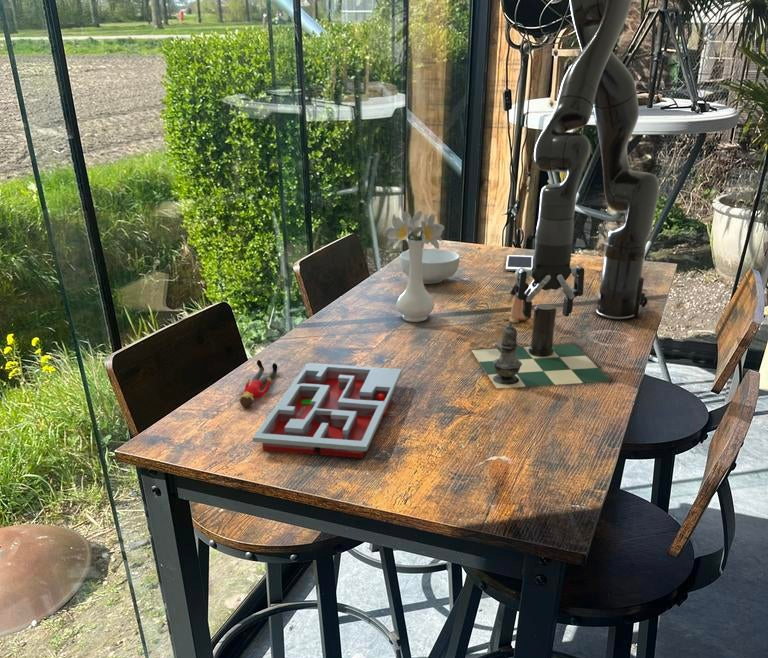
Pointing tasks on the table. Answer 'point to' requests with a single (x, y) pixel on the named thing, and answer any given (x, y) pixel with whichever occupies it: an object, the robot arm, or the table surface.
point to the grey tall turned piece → (507, 358)
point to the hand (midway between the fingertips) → (546, 316)
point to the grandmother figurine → (517, 304)
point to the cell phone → (519, 262)
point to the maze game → (330, 410)
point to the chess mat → (545, 367)
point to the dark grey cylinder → (543, 330)
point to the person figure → (257, 386)
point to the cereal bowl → (433, 264)
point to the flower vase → (415, 261)
